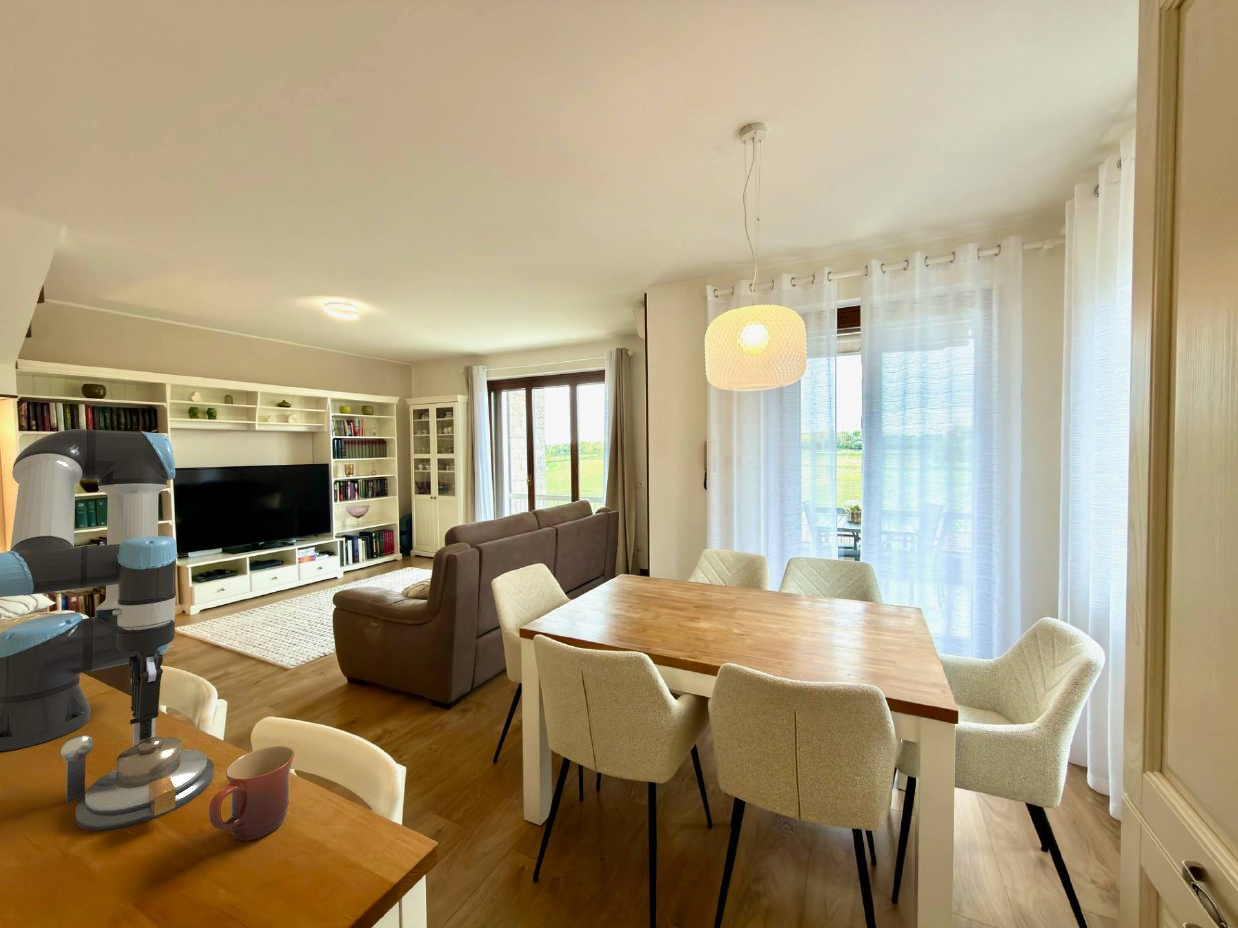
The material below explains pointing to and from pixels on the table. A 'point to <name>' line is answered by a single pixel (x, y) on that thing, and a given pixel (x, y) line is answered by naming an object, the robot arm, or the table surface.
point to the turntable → (145, 789)
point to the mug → (255, 793)
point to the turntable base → (141, 815)
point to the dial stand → (76, 765)
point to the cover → (148, 761)
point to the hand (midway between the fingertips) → (143, 753)
